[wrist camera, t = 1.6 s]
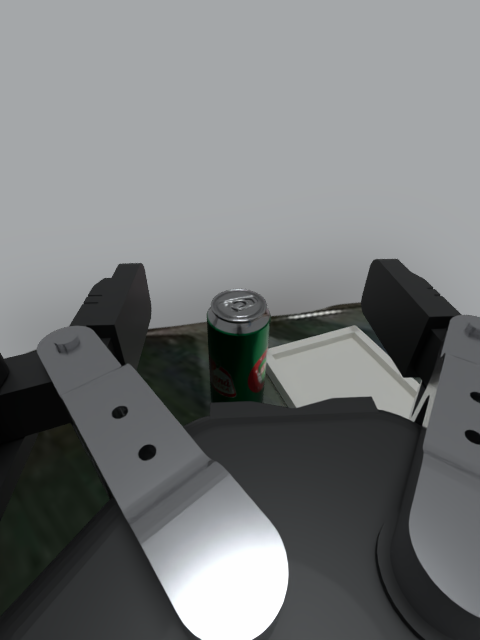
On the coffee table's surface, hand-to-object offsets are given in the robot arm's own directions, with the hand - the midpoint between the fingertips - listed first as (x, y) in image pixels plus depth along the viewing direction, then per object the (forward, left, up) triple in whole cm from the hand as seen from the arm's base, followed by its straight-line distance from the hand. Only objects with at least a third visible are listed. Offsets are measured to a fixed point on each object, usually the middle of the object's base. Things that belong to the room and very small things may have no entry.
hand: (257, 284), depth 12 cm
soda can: (+3, +10, -20) cm, 23 cm away
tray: (+14, +8, -20) cm, 26 cm away
